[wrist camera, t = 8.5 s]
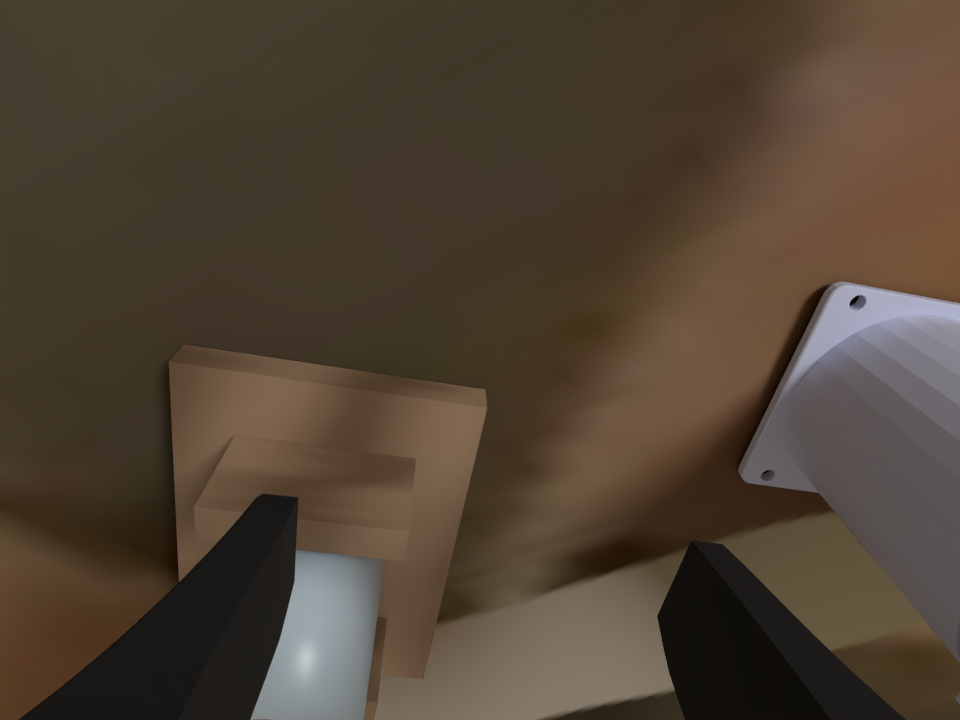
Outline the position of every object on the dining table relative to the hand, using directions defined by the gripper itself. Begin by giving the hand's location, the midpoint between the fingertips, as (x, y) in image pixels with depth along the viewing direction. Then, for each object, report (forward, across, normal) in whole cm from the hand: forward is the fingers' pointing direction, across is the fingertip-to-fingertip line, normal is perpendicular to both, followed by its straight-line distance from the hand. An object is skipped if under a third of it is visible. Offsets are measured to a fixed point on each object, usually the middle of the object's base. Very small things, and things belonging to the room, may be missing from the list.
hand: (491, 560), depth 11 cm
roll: (+9, +4, +9) cm, 13 cm away
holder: (+10, +4, +9) cm, 14 cm away
